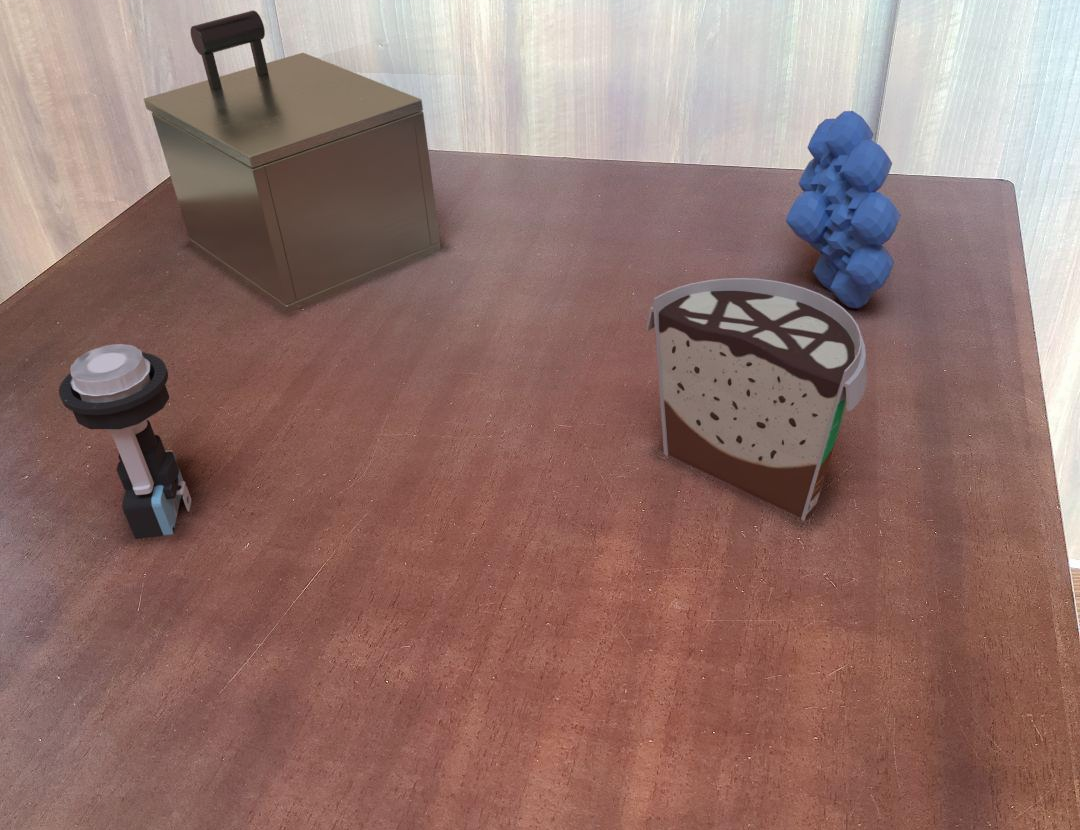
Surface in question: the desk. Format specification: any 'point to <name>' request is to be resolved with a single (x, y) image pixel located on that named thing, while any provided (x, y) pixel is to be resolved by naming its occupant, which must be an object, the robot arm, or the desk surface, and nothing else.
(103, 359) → the push button
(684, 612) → the desk surface
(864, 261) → the grapes
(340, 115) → the bin lid
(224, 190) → the bin
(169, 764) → the desk surface
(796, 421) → the food container
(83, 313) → the desk surface
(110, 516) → the desk surface
